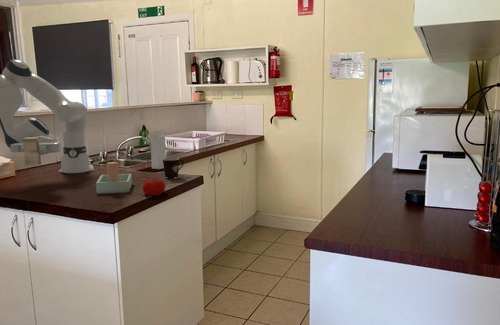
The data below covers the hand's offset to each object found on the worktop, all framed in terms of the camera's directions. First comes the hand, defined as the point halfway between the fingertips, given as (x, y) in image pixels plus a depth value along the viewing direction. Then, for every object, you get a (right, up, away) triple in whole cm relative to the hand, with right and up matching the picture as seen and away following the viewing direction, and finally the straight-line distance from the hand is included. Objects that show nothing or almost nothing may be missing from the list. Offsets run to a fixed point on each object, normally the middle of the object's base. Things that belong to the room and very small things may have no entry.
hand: (31, 149), depth 179 cm
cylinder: (+33, -18, +10) cm, 39 cm away
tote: (+32, -18, +14) cm, 39 cm away
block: (0, -7, +2) cm, 7 cm away
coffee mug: (+55, -14, +38) cm, 69 cm away
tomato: (+53, -20, +3) cm, 57 cm away
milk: (+41, -9, +65) cm, 78 cm away
